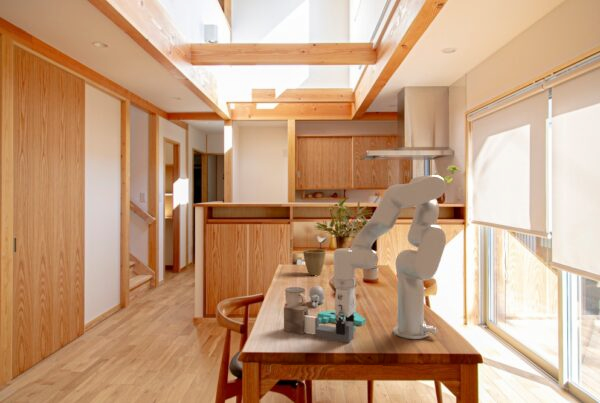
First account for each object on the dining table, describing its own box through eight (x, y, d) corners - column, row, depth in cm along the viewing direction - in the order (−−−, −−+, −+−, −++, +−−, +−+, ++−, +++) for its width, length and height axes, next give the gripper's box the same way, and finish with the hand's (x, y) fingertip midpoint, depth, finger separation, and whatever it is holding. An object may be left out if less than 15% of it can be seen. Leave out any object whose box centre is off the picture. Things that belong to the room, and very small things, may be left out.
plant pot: (315, 271, 262) (315, 248, 262) (330, 275, 251) (330, 251, 250) (298, 274, 252) (298, 250, 252) (313, 278, 241) (313, 253, 241)
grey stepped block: (353, 338, 139) (353, 322, 139) (349, 343, 134) (349, 326, 134) (320, 332, 145) (320, 317, 145) (315, 337, 140) (315, 320, 140)
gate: (318, 333, 143) (318, 317, 143) (317, 334, 142) (317, 318, 141) (288, 327, 149) (289, 312, 149) (287, 329, 147) (287, 313, 147)
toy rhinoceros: (306, 312, 179) (304, 297, 176) (311, 296, 189) (310, 282, 186) (321, 313, 177) (319, 298, 174) (326, 297, 188) (324, 283, 184)
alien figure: (353, 333, 145) (371, 319, 162) (353, 328, 145) (371, 314, 162) (307, 324, 155) (329, 311, 172) (307, 319, 155) (329, 307, 172)
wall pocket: (308, 330, 147) (308, 306, 147) (302, 334, 142) (302, 310, 142) (290, 327, 150) (290, 304, 150) (283, 331, 146) (283, 307, 146)
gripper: (346, 289, 128) (347, 339, 128) (361, 278, 144) (362, 323, 144) (325, 287, 131) (326, 336, 132) (343, 277, 147) (343, 321, 147)
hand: (345, 329), depth 138 cm, fingers open, 9 cm apart
